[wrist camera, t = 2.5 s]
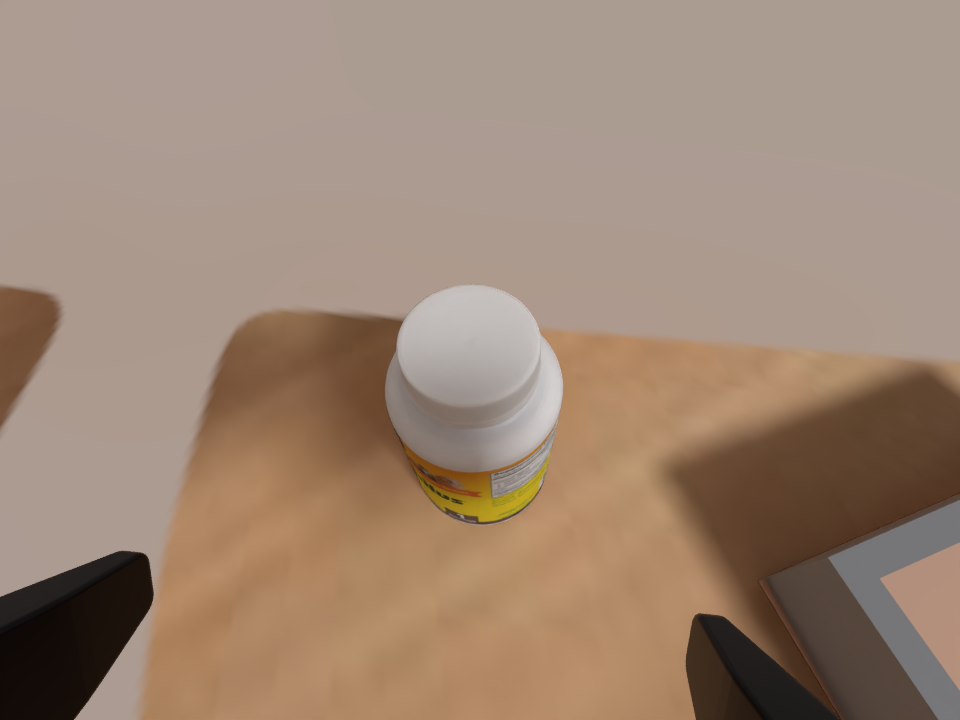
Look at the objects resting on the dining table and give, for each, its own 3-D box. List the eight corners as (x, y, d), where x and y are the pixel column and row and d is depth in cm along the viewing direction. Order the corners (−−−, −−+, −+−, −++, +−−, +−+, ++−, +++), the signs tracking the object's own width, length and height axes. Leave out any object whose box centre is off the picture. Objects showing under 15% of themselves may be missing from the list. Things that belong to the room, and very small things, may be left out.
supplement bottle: (397, 447, 23) (331, 314, 14) (501, 387, 25) (498, 232, 16) (460, 557, 21) (427, 478, 12) (572, 484, 22) (616, 364, 13)
